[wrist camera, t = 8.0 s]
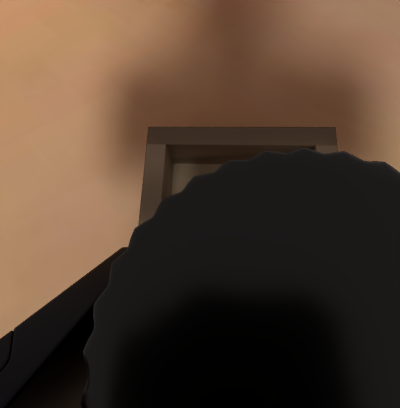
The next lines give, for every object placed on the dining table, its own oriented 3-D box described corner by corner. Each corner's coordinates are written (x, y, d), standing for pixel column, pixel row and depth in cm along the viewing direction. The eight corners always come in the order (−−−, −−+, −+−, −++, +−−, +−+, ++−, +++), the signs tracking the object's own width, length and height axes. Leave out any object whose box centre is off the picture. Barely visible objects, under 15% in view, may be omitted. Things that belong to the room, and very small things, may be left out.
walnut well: (326, 322, 17) (353, 333, 14) (146, 312, 18) (128, 320, 15) (315, 153, 20) (335, 127, 17) (160, 151, 21) (148, 126, 17)
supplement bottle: (321, 365, 13) (1080, 1040, 2) (178, 377, 13) (-95, 1011, 2) (293, 222, 15) (544, 34, 3) (168, 237, 15) (-3, 111, 4)
